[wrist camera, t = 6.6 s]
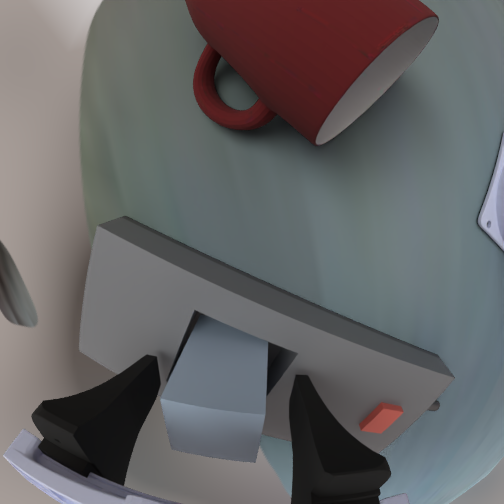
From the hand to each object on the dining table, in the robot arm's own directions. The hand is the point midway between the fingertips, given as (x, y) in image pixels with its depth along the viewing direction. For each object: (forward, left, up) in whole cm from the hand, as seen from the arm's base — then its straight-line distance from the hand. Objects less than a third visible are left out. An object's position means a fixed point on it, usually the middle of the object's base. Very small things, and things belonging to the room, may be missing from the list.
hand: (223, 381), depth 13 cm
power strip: (-5, 0, -4) cm, 7 cm away
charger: (0, 0, -3) cm, 3 cm away
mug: (+10, -18, -2) cm, 20 cm away
